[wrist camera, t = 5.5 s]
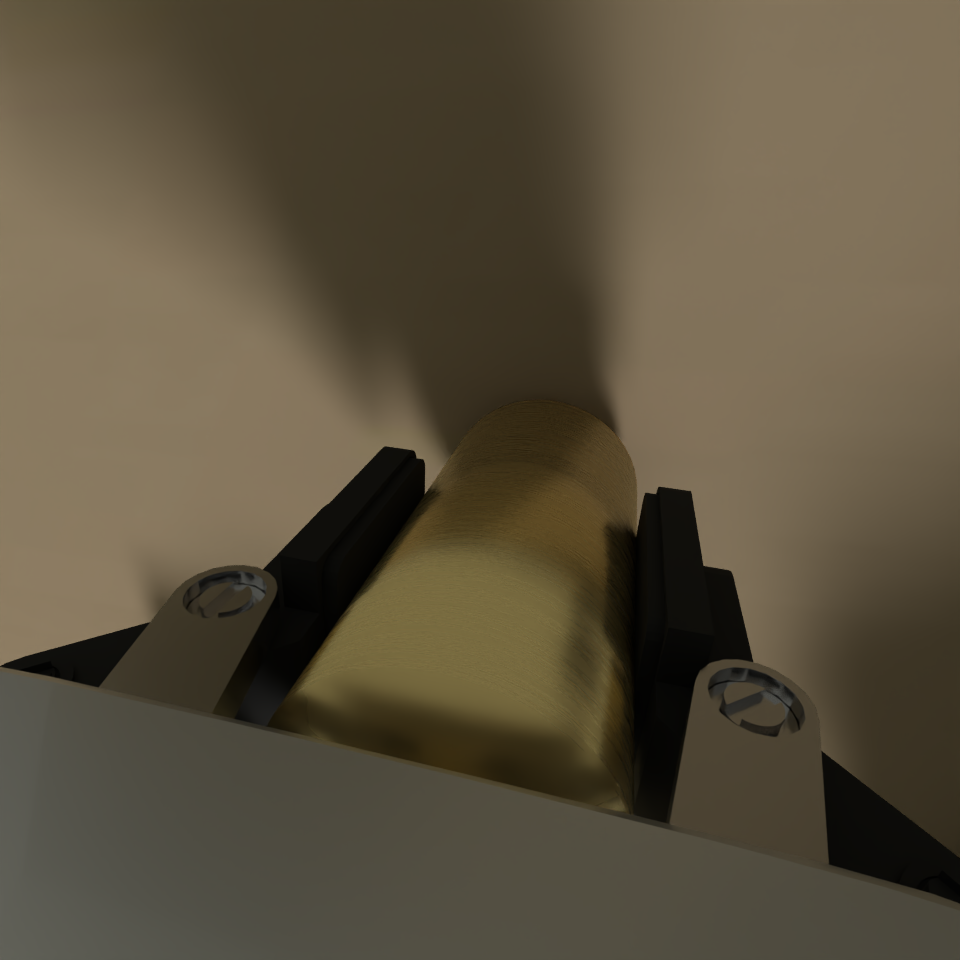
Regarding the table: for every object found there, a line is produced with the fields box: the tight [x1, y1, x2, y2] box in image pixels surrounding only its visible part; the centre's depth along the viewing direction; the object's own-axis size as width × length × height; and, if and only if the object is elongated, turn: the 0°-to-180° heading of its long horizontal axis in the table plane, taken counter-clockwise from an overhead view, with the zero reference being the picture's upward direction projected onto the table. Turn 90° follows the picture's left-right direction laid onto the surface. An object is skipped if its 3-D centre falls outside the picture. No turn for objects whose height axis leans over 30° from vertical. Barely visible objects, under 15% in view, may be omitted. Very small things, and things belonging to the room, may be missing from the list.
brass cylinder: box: [266, 400, 637, 815], centre depth 10 cm, size 4×4×8 cm
